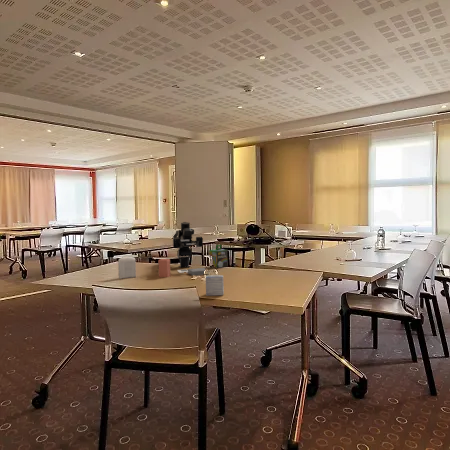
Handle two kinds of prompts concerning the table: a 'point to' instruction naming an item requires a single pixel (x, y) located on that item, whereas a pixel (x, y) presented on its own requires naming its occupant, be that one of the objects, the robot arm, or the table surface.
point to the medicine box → (214, 285)
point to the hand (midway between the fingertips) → (190, 246)
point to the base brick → (196, 271)
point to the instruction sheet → (182, 271)
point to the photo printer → (127, 267)
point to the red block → (164, 267)
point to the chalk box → (219, 257)
